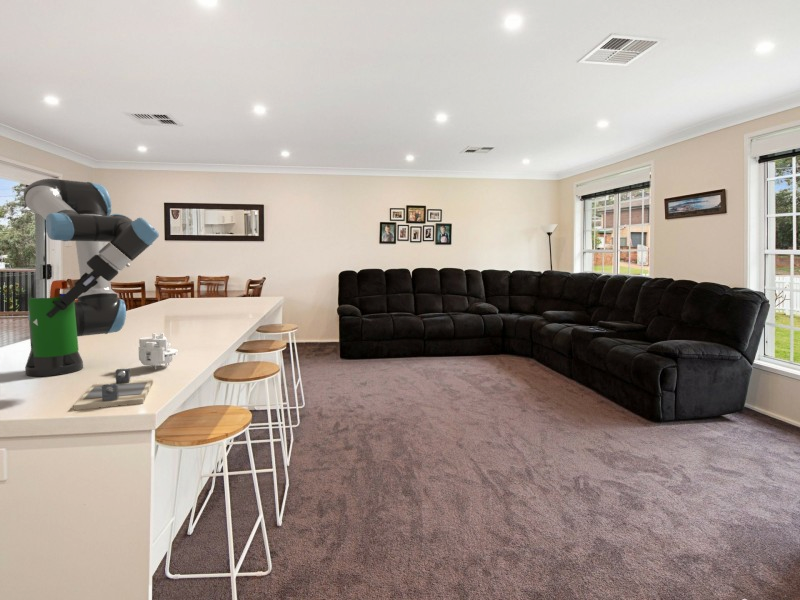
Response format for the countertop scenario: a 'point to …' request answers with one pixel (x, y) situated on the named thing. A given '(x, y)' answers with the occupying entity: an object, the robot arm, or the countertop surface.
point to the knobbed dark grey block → (110, 392)
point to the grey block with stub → (122, 376)
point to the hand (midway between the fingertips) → (40, 323)
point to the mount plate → (127, 392)
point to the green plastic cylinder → (53, 325)
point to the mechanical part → (155, 350)
